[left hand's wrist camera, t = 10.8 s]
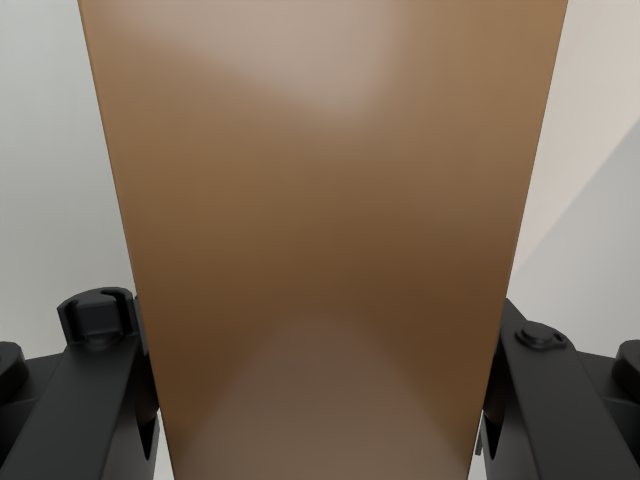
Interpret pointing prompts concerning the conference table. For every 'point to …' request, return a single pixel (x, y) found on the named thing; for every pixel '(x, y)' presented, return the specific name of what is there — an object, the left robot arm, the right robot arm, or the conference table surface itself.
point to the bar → (321, 219)
